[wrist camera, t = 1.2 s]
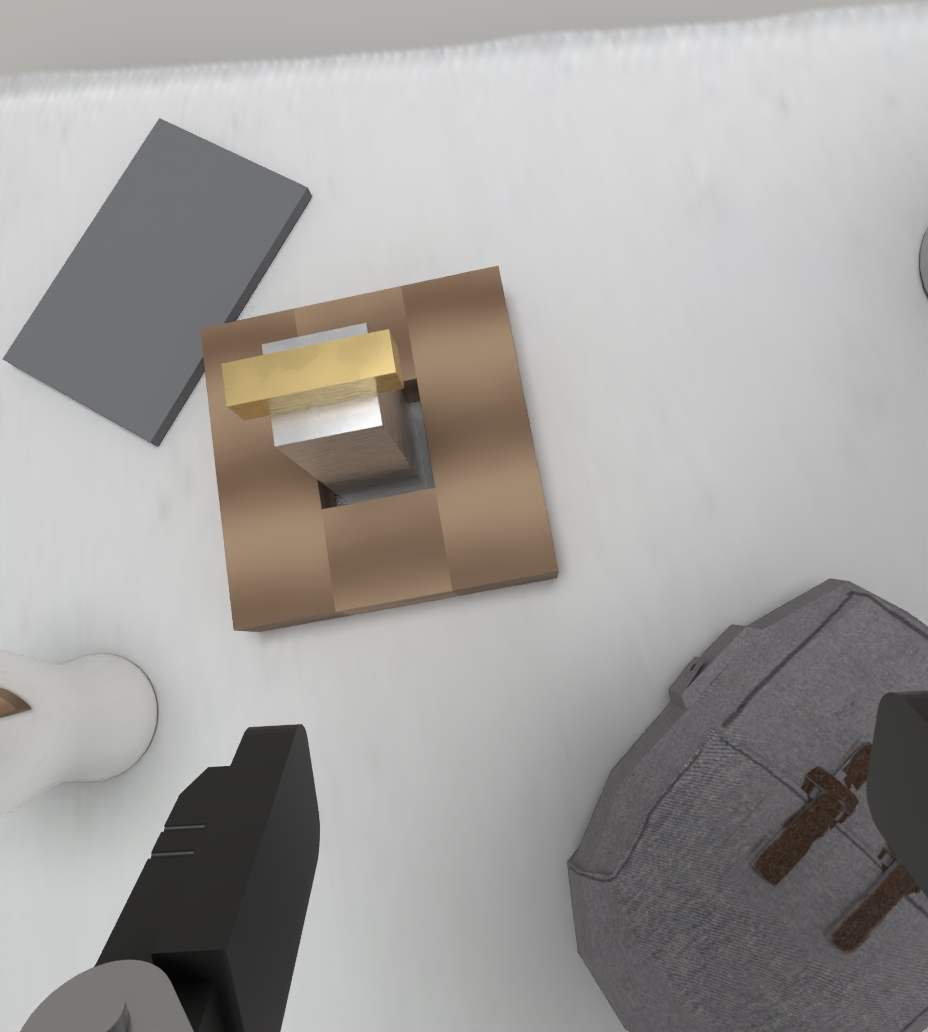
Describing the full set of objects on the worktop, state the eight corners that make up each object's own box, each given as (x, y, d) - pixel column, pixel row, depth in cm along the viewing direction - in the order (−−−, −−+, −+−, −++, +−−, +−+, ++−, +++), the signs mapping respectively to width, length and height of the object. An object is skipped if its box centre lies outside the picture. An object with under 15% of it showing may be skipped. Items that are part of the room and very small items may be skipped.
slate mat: (166, 127, 43) (159, 118, 42) (312, 196, 41) (307, 187, 40) (12, 364, 41) (2, 359, 41) (157, 446, 40) (150, 442, 39)
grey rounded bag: (782, 545, 36) (493, 861, 35) (854, 514, 28) (478, 926, 26) (1059, 779, 33) (753, 1133, 32) (1231, 822, 25) (827, 1301, 23)
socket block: (225, 352, 40) (200, 328, 37) (501, 294, 39) (498, 265, 36) (258, 631, 37) (233, 630, 34) (557, 577, 36) (558, 571, 33)
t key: (330, 508, 38) (230, 439, 26) (320, 433, 39) (217, 331, 26) (447, 486, 38) (401, 405, 25) (434, 410, 38) (383, 297, 26)
